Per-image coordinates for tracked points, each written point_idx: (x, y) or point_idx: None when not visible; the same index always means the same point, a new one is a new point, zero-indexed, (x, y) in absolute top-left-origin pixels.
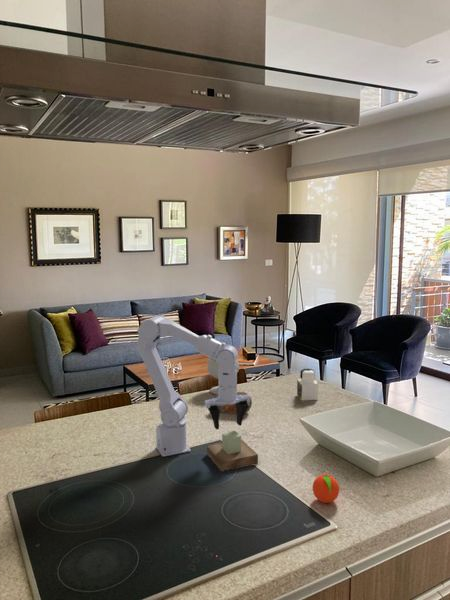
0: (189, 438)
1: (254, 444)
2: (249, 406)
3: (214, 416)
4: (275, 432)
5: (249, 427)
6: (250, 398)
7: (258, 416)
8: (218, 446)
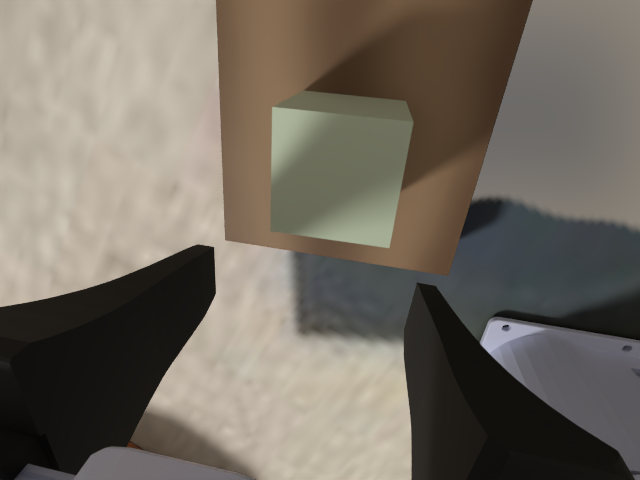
0: None
1: (169, 214)
2: None
3: (529, 391)
4: (38, 262)
5: None
6: None
7: None
8: (394, 232)
